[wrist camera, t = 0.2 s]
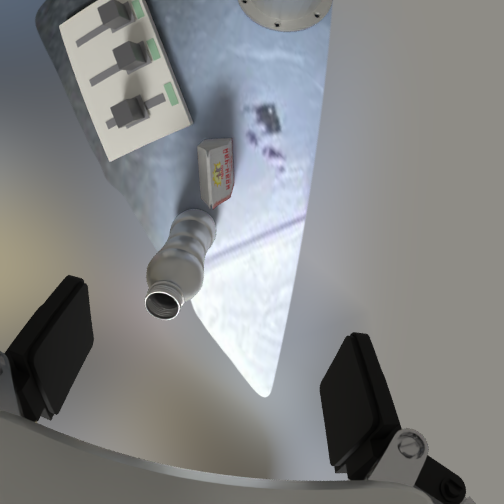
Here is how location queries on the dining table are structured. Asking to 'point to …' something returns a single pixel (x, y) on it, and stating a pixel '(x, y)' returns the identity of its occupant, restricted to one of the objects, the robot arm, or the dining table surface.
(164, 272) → the plastic bottle
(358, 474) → the robot arm
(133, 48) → the block
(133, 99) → the block
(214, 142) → the white printed box
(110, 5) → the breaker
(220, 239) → the dining table surface
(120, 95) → the panel
